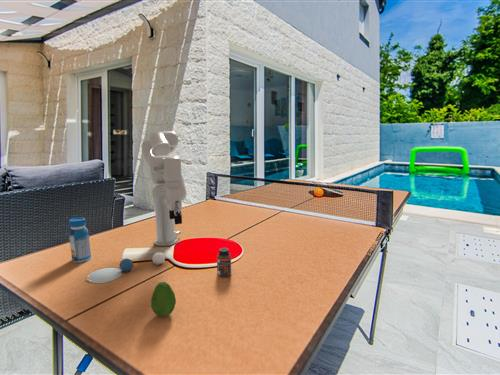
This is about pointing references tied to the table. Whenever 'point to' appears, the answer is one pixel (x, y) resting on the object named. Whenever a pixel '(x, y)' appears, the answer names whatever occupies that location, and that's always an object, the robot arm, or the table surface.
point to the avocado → (163, 300)
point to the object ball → (126, 265)
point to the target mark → (104, 275)
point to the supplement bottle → (224, 263)
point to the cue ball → (158, 258)
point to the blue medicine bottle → (79, 240)
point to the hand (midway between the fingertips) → (175, 221)
